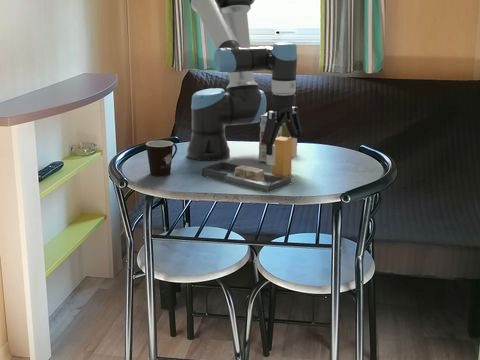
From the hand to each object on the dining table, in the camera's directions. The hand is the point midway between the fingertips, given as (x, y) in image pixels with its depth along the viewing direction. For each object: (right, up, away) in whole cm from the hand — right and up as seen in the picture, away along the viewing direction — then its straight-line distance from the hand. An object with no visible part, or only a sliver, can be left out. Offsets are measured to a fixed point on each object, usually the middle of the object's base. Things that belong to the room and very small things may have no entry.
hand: (281, 160), depth 217 cm
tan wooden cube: (-9, -7, -7) cm, 13 cm away
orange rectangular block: (0, -5, +1) cm, 5 cm away
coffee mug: (-38, -4, +2) cm, 38 cm away
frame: (-18, -5, +1) cm, 19 cm away
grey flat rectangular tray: (-8, -7, -7) cm, 13 cm away
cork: (+4, +4, +30) cm, 31 cm away
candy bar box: (-3, +1, +19) cm, 20 cm away
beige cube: (-12, -6, -4) cm, 14 cm away
